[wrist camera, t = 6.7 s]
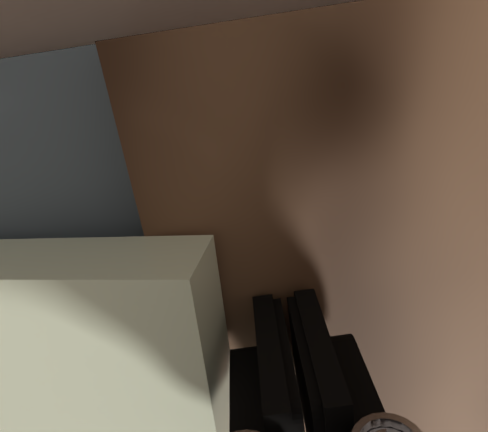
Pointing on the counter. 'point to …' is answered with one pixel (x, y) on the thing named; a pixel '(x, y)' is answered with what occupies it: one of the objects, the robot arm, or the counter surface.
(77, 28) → the counter surface
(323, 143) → the walnut deck
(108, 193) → the slate mat
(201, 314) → the sage tile
